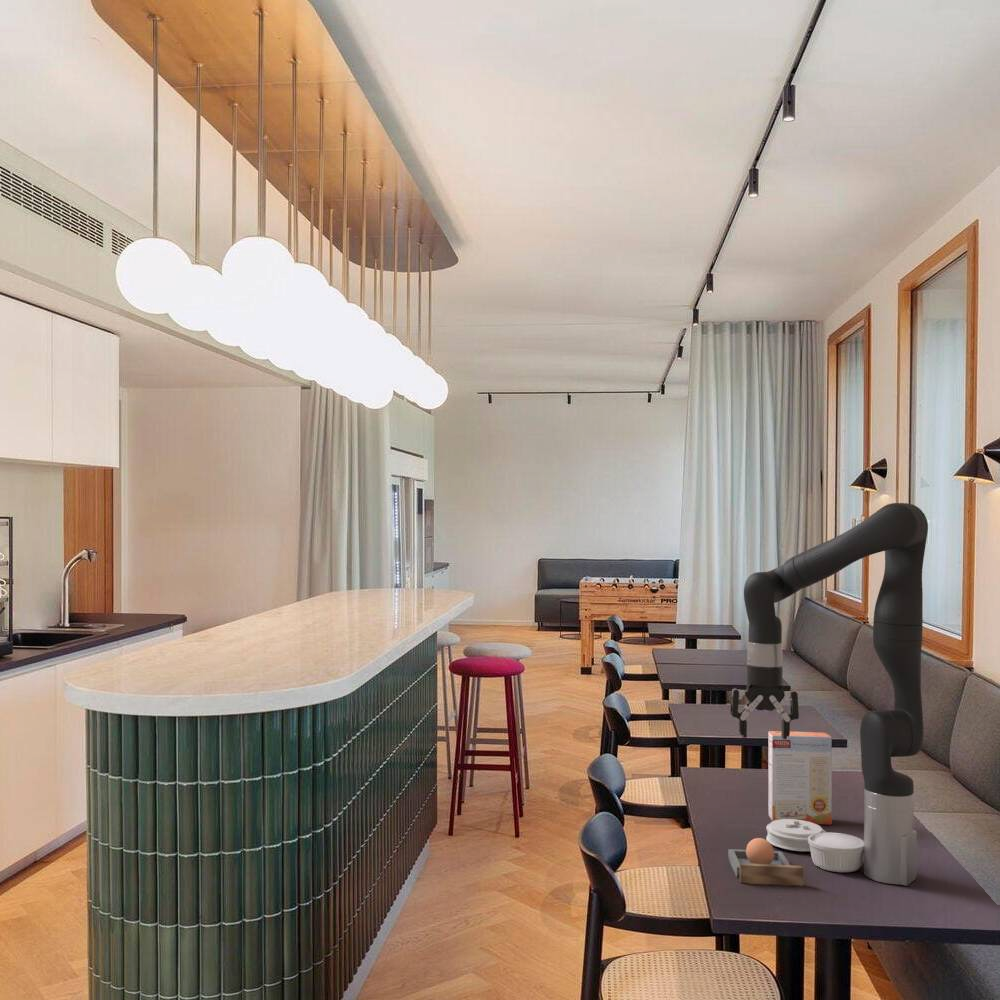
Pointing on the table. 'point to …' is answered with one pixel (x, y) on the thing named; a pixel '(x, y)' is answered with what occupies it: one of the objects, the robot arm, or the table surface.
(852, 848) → the ramekin
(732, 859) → the tray
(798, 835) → the lid
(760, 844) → the ball
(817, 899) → the table surface
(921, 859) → the table surface
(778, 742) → the cracker box
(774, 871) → the wall
